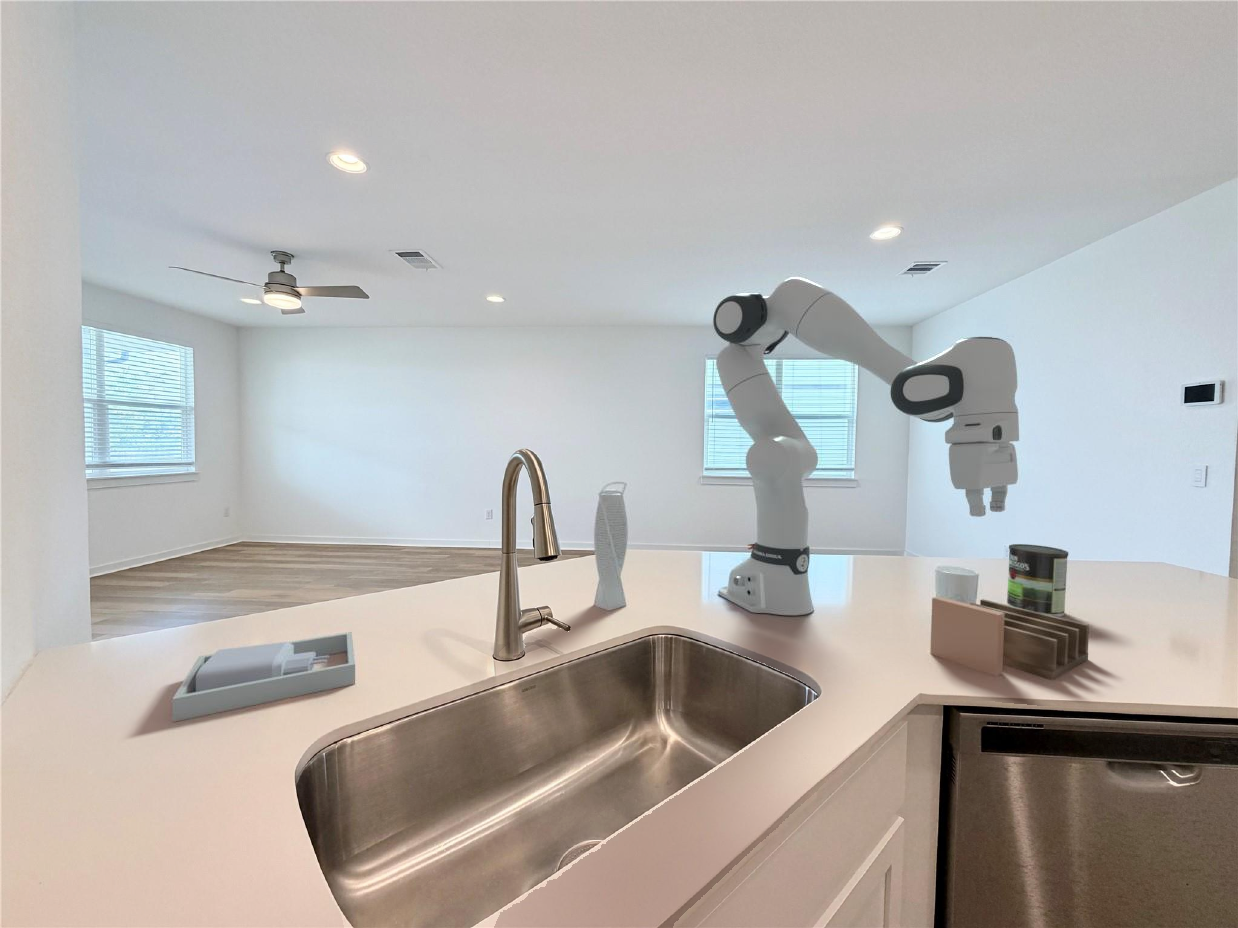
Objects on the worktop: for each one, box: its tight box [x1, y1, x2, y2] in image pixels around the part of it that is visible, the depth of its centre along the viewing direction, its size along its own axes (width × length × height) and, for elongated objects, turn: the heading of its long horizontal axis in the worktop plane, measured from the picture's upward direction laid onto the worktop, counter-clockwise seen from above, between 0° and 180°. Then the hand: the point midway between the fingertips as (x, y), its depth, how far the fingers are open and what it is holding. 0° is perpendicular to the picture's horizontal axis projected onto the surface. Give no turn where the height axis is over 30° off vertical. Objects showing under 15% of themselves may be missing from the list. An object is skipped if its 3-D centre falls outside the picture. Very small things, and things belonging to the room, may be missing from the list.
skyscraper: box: [593, 481, 629, 611], centre depth 110 cm, size 8×8×28 cm
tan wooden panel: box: [929, 596, 1005, 677], centre depth 82 cm, size 10×2×10 cm, turn 31°
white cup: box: [934, 565, 980, 604], centre depth 106 cm, size 8×8×10 cm
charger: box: [196, 641, 330, 692], centre depth 73 cm, size 5×9×15 cm
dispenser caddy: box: [171, 631, 356, 723], centre depth 74 cm, size 15×21×3 cm
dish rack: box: [969, 598, 1090, 681], centre depth 87 cm, size 16×15×6 cm
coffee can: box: [1006, 543, 1069, 618], centre depth 111 cm, size 10×10×14 cm
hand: (987, 513), depth 83 cm, fingers open, 8 cm apart
